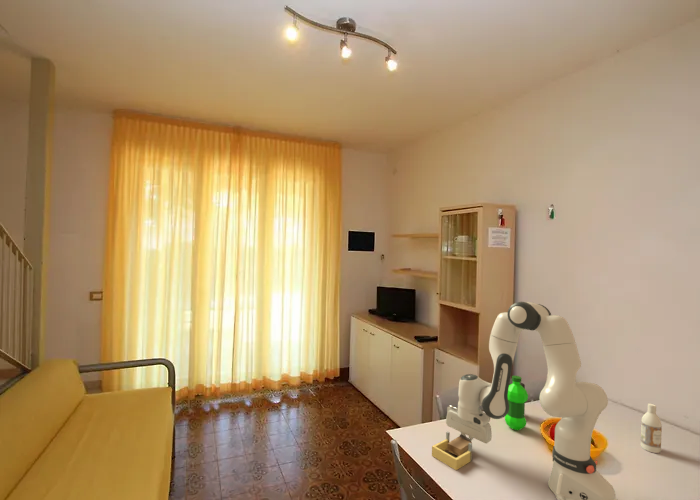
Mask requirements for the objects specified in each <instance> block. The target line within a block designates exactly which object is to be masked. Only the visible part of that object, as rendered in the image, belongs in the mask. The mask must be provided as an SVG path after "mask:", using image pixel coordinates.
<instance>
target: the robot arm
mask: <svg viewBox="0 0 700 500" xmlns="http://www.w3.org/2000/svg"><path fill="white" fill-rule="evenodd" d="M496 316H497V317H496V318H495V321H494V323H493V325H492V328H491V331H490V334H489V341H488V350H489V351H488V352H489V353H490V355H491V360H492V363H493V376H492V381H491V382H488V381H486V380H483V379H482V378H480V377H479V375H476V374H473V373H472V374H471V373H468V374H464V375H462V376H461V377H460V378H459V383H458V392H457V393H458V394H457V395H458V402H457V407H455V406H453V405H448V406H447V407H446V412H447V413H446V418H445V424H446V426H447V427H448V428H452V429H453V430H455V431H458V432H460V434H461V435H463V436H465V437H467V436H468V438H469V439H471V442H473V440H474V439H475V440H477V441H479V442H481V443H484V444H488V443H489V442H491V441H492V436H493V435H492V426H491V424H490V421H491V419H494V420H500V419H503V418H505V416H506V415H507V413H508V411H509V403H508V397H507V395H508V388H509V383H510V378H512V369H513V364H514V360H515V355H516V353H517V352H516V351H517V347H518V343H519V340H520V335H521V333H522V332H523V331H524V330H528V331H536V332H537V333H538V334H539V336H540V339H541V342H542V346H543V347H542V348H543V352H544V356H545V361H546V365H547V366H546V367H547V373H546V374H547V375H546V380H545V381H546V382H545V384H544V387H543V388H542V390H541V391H540V393H539V403H540V406H541V408H542V409H543V411H544V412H545V413H546V414H547V415H549V416H551V417H554V418H561V419H560V420H559V421H558V422H557V423H556V425H555V427H554V445H553V447H552V454H551V456H552V467H551V468H552V469H551V473H550V477H549V479H548V481H547V486H548V487H549V489H550V490H551V492H552V493H553V494H554V495H555V498H556V500H618V499H617V497H616V492H615V488H614V487H613V485H612V484H611V483H610V482H609V481H608V480H607V479H606V478H605V477H604V476H603V475H602V474H601V473H600V472H599V470H597V465H598V460H596V461H595V460H593V458H592V457H591V444H592V443H591V441H592V435H593V431H594V428H595V426H596V423H597V421H598V419H599V416H600V415H601V414H602V412H603V411H604V410H606V408H607V407H608V405H609V404H608V403H609V400H608V399H609V398H608V395H607V393H606V391H605V390H604V389H603V388H602V387H601V386H600V385H598V384H596V383H593V382H587V381H578V382H577V381H576V380H577V372H578V371H579V370H580V368H581V367H582V360H581V357H580V354H579V350H578V347H577V343H576V339H575V337H574V334H573V332H572V329H571V327H570V325H569V323H568V321H567V319H566V318H564V317H563V316H561V315H556V314H555V315H553V314H552V312H551V311H550V309H549V308H547V307H546V306H544V305H542V304H540V303H534V302H533V301H532V302H531V301H517V302H515V303H513V304H512V305H510V306H509V308H508V309H507V312H506V311H504V312H500V313H498V314H497V315H496ZM480 407H482V410H481V408H480Z"/></svg>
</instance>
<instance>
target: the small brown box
mask: <svg viewBox="0 0 700 500" xmlns="http://www.w3.org/2000/svg"><path fill="white" fill-rule="evenodd" d="M472 442H473V441H471V439H470V438H469V437H467V436H466V437H465V436H463V435H461V433H460V434H459V436H458V437H456V438H454V439H452V440H451V441H449V443H448V449H447V452H448V453H449V454H450V455H452V454H453V455H455V456H457V457H459V456H460V455H462V454H464V453H465V452H467V451H468V444H469V443H471V444H472V445H473V443H472Z"/></svg>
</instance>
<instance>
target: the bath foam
mask: <svg viewBox="0 0 700 500" xmlns="http://www.w3.org/2000/svg"><path fill="white" fill-rule="evenodd" d="M640 422H641V423H640V424H641V425H640V447H641V448H642V449H643V450H644V451H646V452H651V453H654V454H659V453H661V452H662V430H663V428H662V427H663V424H662V422H661V419H660V418H659V415H658V414H657V405H656V404H653V403H649V402H648V403H647V411H646V412H645V413H644V414H643V415H642V417H641V421H640Z"/></svg>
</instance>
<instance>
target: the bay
mask: <svg viewBox="0 0 700 500" xmlns="http://www.w3.org/2000/svg"><path fill="white" fill-rule="evenodd" d="M445 434H446V435H445V439H443V440H442V441H440V442H438V443H435V444H434V445H432V446H431V457H434V458H435V459H436V460H438V461H440V462H441V463H443V464H444V465H446V466H447V467H450V468H452V469H454V470H455V471H457V470H459V469H460V468H462V467H464V466H466V465H467V464H469V463H470V462H472V458H473V457H472V455H473V454H472V453H473V443H472V444H471V443H469V444H468V451H467V452H465V453H464V454H462V455H460V456H457V457H455V456H453V455H452V454H451V453H449V452H446V451H448V443H449V442H450V437H451V436H450V432H449V431H447V432H446V433H445Z"/></svg>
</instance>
